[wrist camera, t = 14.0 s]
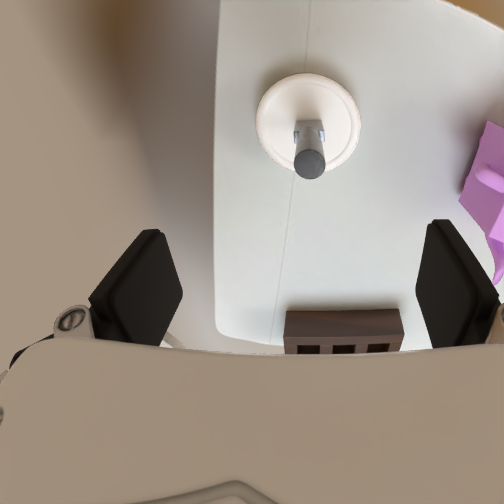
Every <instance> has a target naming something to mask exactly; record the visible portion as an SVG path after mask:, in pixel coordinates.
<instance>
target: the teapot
mask: <svg viewBox="0 0 504 504" xmlns="http://www.w3.org/2000/svg"><path fill="white" fill-rule="evenodd" d="M459 202H460V203H461V204H462V205H463V207H464V208H465V209H466V210H467V211H468V213H469V214H470V215H471V216H472V217H473V219H474V220H475V221H476V222H477V224H478V225H479V226H480V227H481V229H482V230H483V231H484V232H485V237H486V240H487V243H488V246H489V248H490V250H491V253H492V255H493V258H494V262H495V273H494V277H493V285H496V284H497V283H498V282H499V281H500V280H501V278H502V276H503V274H504V128H503V127H500V126H498V125H496V124H494V123H492V122H490V121H488V120H487V123H486V126H485V130H484V133H483V135H482V136H481V137H480V140H479V148H478V151H477V154H476V157H475V160H474V162H473V165H472V168H471V171H470V173H469V175H468V176H467V177H466V179H465V186H464V188H463V191H462V193H461V196H460V198H459Z"/></svg>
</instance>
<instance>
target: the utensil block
mask: <svg viewBox="0 0 504 504" xmlns="http://www.w3.org/2000/svg"><path fill="white" fill-rule="evenodd" d="M403 338H404V329H403V325H402V321H401V317H400V312H399V309H386V310H356V311H287V312H286V319H285V327H284V335H283V339H284V349H285V354H360V353H381V352H397V351H399V350H400V347H401V344H402V341H403Z"/></svg>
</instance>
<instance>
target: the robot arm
mask: <svg viewBox="0 0 504 504" xmlns="http://www.w3.org/2000/svg"><path fill="white" fill-rule="evenodd" d="M415 291H416V297H417V300H418V303H419V306H420V308H421V311H422V315H423V318H424V321H425V324H426V327H427V330H428V334H429V337H430V340H431V344H432V347H433V349H424V350H410V351H397V352H381V353H360V354H256V353H234V352H217V351H202V350H190V349H179V348H168V347H159V346H160V344H161V342H162V340H163V337H164V335H165V333H166V331H167V329H168V327H169V324H170V322H171V320H172V318H173V316H174V314H175V312H176V310H177V308H178V305H179V303H180V301H181V299H182V296H183V290H182V287H181V284H180V281H179V278H178V275H177V272H176V269H175V266H174V262H173V259H172V256H171V253H170V250H169V247H168V244H167V241H166V237H165V235H164V233H161V232H160V230H158V229H148V230H143V231H142V232H141V233H140V234H139V235H138V237H137V238H136V239H135V240H134V241H133V242H132V244H131V245H130V246H129V247H128V248H127V250H126V251H125V252H124V253H123V255H122V256H121V257H120V258H119V259H118V261H117V262H116V263H115V265H114V266H113V267H112V268H111V269H110V271H109V272H108V273H107V275H106V276H105V277H104V278H103V280H102V281H101V282H100V284H99V285H98V286H97V287H96V289H95V290H94V291H93V293H92V294H91V295H90V297H89V298H88V300H89V302H90V303H91V305H92V306H91V307H90V308H89V309H88V307H86V306H85V305H75V306H72V307H69V308H68V309H66V310H64V311H63V312H62V313H61V314H60V315H59V316H58V317H57V318H56V320H55V322H54V334H52V335H50V336H48V337H46V338H44V339H42V340H40V341H38V342H36V343H34V344H32V345H31V346H28V347H26V348H24V349H23V350H20V351H18V352H17V353H16V354H15V355H14V357H13V359H12V361H11V364H10V368H9V371H7V370H6V371H4V372H3V373H2V374H1V375H0V504H504V303H503V304H501V303H500V301H499V299H498V297H499V294H498V292H497V291H496V289H495V287H494V285H493V284H492V282H491V280H490V279H489V277H488V276H487V274H486V272H485V271H484V269H483V268H482V266H481V264H480V263H479V261H478V260H477V258H476V257H475V255H474V254H473V252H472V251H471V249H470V248H469V246H468V245H467V244H466V242H465V241H464V239H463V238H462V237H461V235H460V234H459V232H458V231H457V230H456V228H455V227H454V225H453V224H452V223H451V221H450V220H449V219H434V220H433V221H432V224H428V226H427V231H426V237H425V243H424V248H423V254H422V259H421V264H420V269H419V273H418V278H417V283H416V289H415Z"/></svg>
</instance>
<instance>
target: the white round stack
mask: <svg viewBox="0 0 504 504" xmlns="http://www.w3.org/2000/svg"><path fill="white" fill-rule="evenodd" d="M302 120H322V124H323V128H324V133H325V142H322V145H323V151H324V157H325V163H326V166H325V170H324V172H325V171H328V170H331V169H333V168H335V167H337V166H338V165H340V164H342V163H343V162H344V161H345V160H346V159H347V158H348V157H349V156H350V155H351V154H352V152H353V151H354V149H355V147H356V145H357V143H358V140H359V137H360V132H361V121H360V115H359V111H358V108H357V105H356V103H355V101H354V100H353V98H352V97H351V95H350V94H349V93H348V92H347V91H346V90H345V89H344V88H343V87H342V86H341V85H340V84H338V83H337V82H335V81H333V80H331V79H329V78H327V77H324V76H321V75H317V74H310V73H303V74H296V75H292V76H289V77H286V78H284V79H282V80H280V81H278V82H277V83H275V84H274V85H273V86H271V87H270V88H269V89H268V90H267V91H266V93H265V94H264V95H263V97H262V99H261V101H260V103H259V105H258V108H257V112H256V120H255V121H256V131H257V135H258V138H259V141H260V143H261V145H262V147H263V148H264V150H265V151H266V153H267V154H268V155H269V156H270V157H271V158H272V159H273V160H274V161H275V162H277V163H278V164H279V165H281V166H283V167H285V168H287V169H289V170H292V171H295V169H294V157H295V150H296V144H295V143H294V135H293V131H294V127H295V122H296V121H302ZM295 172H296V171H295Z"/></svg>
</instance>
